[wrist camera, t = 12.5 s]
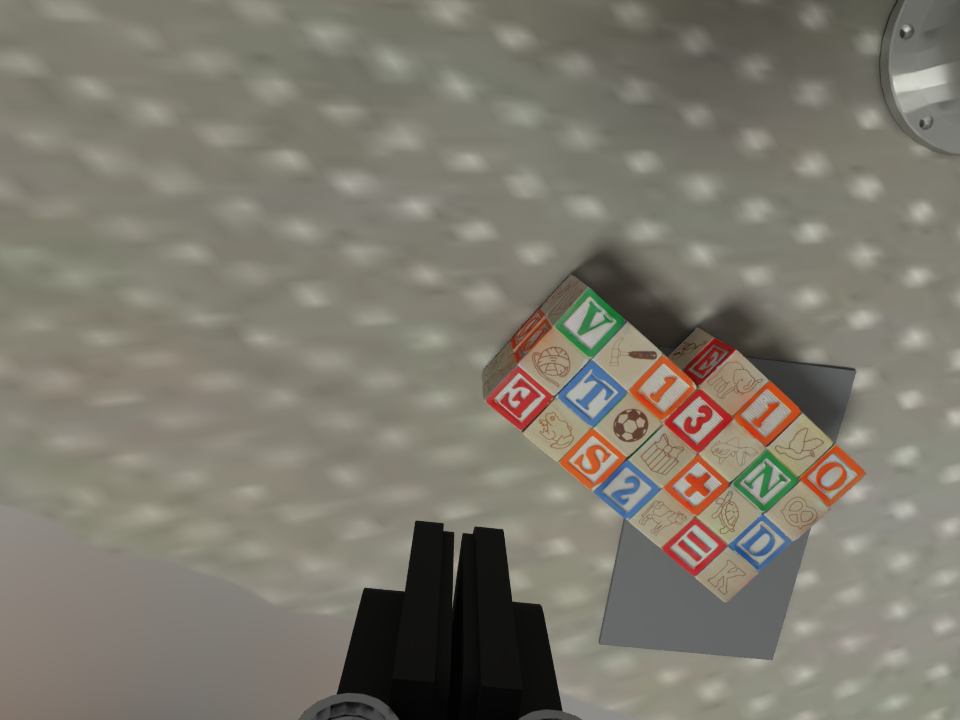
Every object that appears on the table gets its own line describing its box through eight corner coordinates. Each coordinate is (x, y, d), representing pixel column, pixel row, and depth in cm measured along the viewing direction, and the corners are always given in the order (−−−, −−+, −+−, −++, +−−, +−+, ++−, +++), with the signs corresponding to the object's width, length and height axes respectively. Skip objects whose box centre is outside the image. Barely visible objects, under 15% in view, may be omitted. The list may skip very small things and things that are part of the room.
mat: (853, 369, 44) (856, 371, 43) (770, 657, 49) (772, 660, 49) (659, 346, 43) (660, 347, 42) (598, 641, 49) (599, 644, 48)
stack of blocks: (480, 403, 37) (624, 243, 34) (478, 374, 43) (600, 236, 41) (728, 605, 40) (872, 472, 38) (693, 552, 46) (816, 435, 44)
